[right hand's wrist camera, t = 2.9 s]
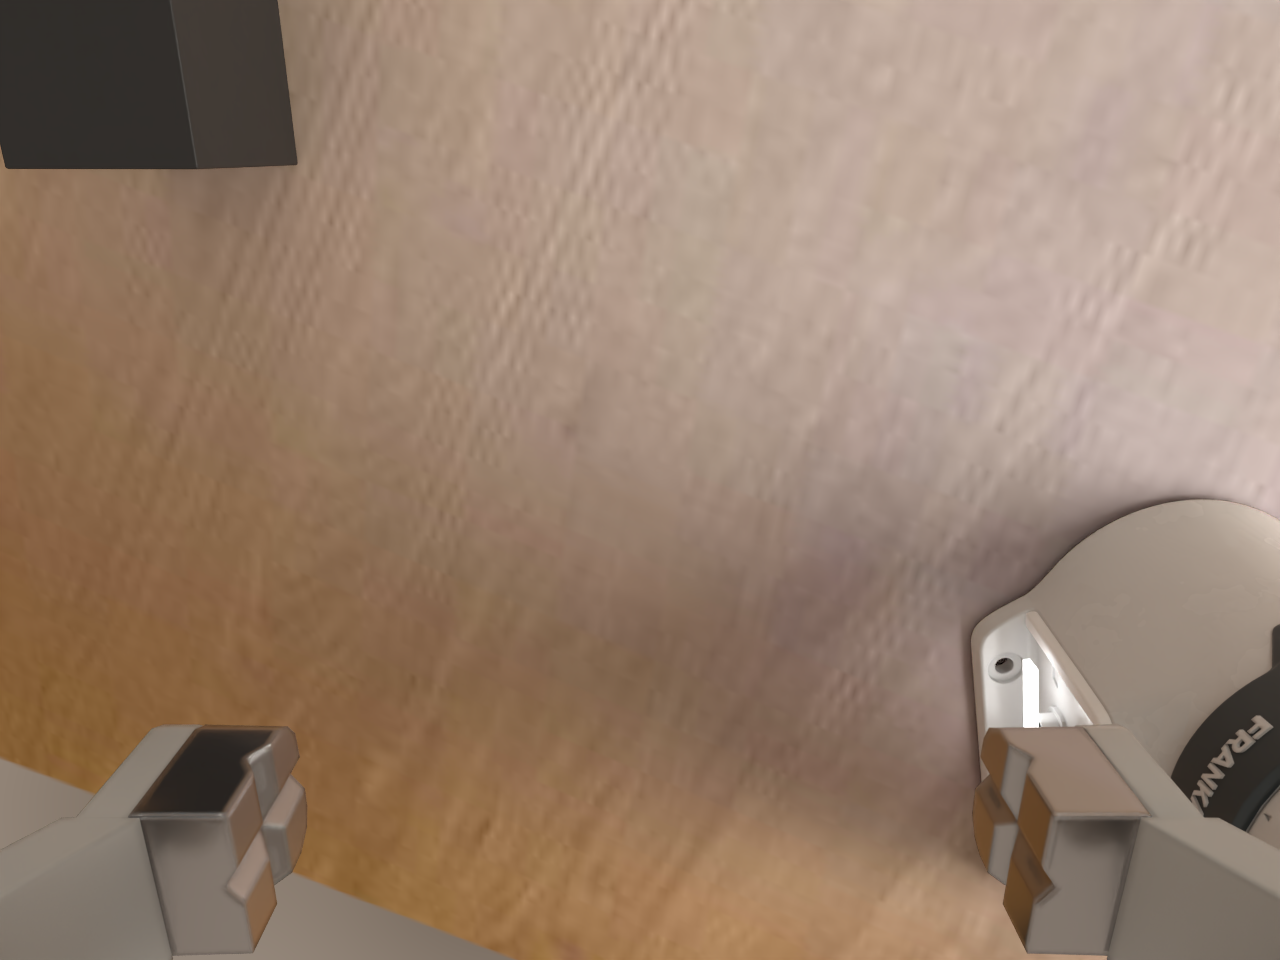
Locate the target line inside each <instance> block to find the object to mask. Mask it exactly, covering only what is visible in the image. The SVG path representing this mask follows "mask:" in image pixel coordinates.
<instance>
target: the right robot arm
mask: <svg viewBox="0 0 1280 960" xmlns="http://www.w3.org/2000/svg"><path fill="white" fill-rule="evenodd" d="M971 653H972V666H973V679H974V692H975V705H976V718H977V731H978V744H979V758H980V771H981V783H980V784H979V785H978V786H977V787H976V788H975V795H974V803H973V812H972V814H973V825H974V836H975V840H976V844H977V847H978V851H979V854H980V857H981V859H982V861H983V863H984V865H985V867H986V870H987V872H988V873H989V874H991V875H992V876H993V877H995V878H996V879H997V880H999V881H1000V882H1001V883H1003V884H1004V885H1006V888H1005V894H1004V900H1003V905H1004V907H1005V909H1006V911H1007V913H1008V915H1009V917H1010V919H1011V921H1012V923H1013V925H1014V927H1015V929H1016V932H1017V934H1018V936H1019V938H1020V940H1021V942H1022V944H1023V946H1024V948H1025V950H1026V952H1027V953H1034V954H1069V955H1104V956H1108V957H1107V960H1280V521H1279V520H1278V519H1276V518H1275V517H1273V516H1271V515H1269V514H1267V513H1265V512H1263V511H1261V510H1258V509H1256V508H1253V507H1250V506H1247V505H1243V504H1239V503H1235V502H1229V501H1223V500H1211V499H1194V500H1182V501H1175V502H1169V503H1164V504H1159V505H1155V506H1152V507H1148V508H1145V509H1142V510H1139V511H1136V512H1133V513H1131V514H1128V515H1126V516H1124V517H1122V518H1119V519H1117V520H1115V521H1113V522H1111V523H1109V524H1108V525H1106V526H1104V527H1102V528H1101V529H1099V530H1097V531H1096V532H1094V533H1093V534H1091V535H1090V536H1088V537H1087V538H1085V539H1084V540H1083V541H1082V542H1080V543H1079V544H1078V545H1076V546H1075V547H1074V548H1073V549H1072V550H1071V551H1069V552H1068V553H1067V554H1066V555H1065V556H1064V557H1063V558H1062V559H1061V560H1060V561H1059V562H1058V563H1057V564H1056V565H1055V566H1054V567H1053V569H1052V570H1051V571H1050V572H1049V573H1048V574H1047V575H1046V576H1045V577H1044V578H1043V579H1042V580H1041V582H1040V583H1039V584H1037V585H1036V586H1035V587H1034V588H1033V589H1032V590H1031V591H1030V592H1028V593H1027V594H1026V595H1024V596H1022V597H1020V598H1018V599H1016V600H1014V601H1012V602H1010V603H1008V604H1007V605H1005V606H1003V607H1001V608H999V609H997V610H996V611H994V612H992V613H991V614H989V615H988V616H986V617H985V618H984V619H983V620H981V621H980V622H979V623H978V624H977V625H976V627H975V628H974V630H973V632H972V636H971ZM1002 658H1007V660H1006V662H1005V663H1003V664H1001V665H995V664H996V662H997V661H998V660H1000V659H1002ZM299 757H300V756H299V751H298V746H297V741H296V736H295V733H294V732H293V731H292V730H291V729H290V728H289V727H288V726H242V725H204V726H202V725H161V726H158V727H155V728H152V729H151V730H150V731H149V732H148V733H147V735H146V736H145V737H144V738H143V739H142V740H141V742H140V743H139V744H138V745H137V746H136V748H135V749H134V750H133V751H132V752H131V753H130V755H129V756H128V757H127V758H126V759H125V760H124V762H123V763H122V764H121V765H120V766H119V767H118V769H117V770H116V771H115V772H114V773H113V774H112V776H111V777H110V778H109V779H108V780H107V781H106V783H105V784H104V785H103V786H102V787H101V788H100V790H99V791H98V792H97V793H96V794H95V795H94V797H93V798H92V799H91V800H90V801H89V803H88V804H87V805H86V806H85V807H84V808H83V810H82V811H81V812H80V813H79V814H78V815H77V817H76V818H60V819H58V820H56V821H54V822H52V823H51V824H49V825H47V826H45V827H43V828H41V829H39V830H37V831H35V832H33V833H31V834H30V835H28V836H26V837H24V838H22V839H20V840H18V841H16V842H14V843H12V844H10V845H9V846H7V847H5V848H3V849H1V850H0V960H173V957H172V956H175V955H210V954H244V953H253V952H254V950H255V948H256V946H257V944H258V942H259V940H260V938H261V936H262V934H263V932H264V930H265V927H266V925H267V923H268V921H269V919H270V917H271V915H272V913H273V911H274V909H275V907H276V905H277V900H276V894H275V889H274V885H276V884H277V883H278V882H280V881H281V880H283V879H284V878H285V877H287V876H288V875H289V874H291V873H292V872H293V870H294V867H295V865H296V863H297V861H298V859H299V856H300V854H301V851H302V847H303V842H304V838H305V833H306V829H307V801H306V794H305V788H304V787H303V786H302V785H301V784H300V783H299V782H298V781H297V780H296V779H295V778H294V777H293V776H292V775H291V772H292V770H293V768H294V766H295V765H296V763H297V761H298V759H299Z"/></svg>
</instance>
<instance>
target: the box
mask: <svg viewBox="0 0 1280 960" xmlns="http://www.w3.org/2000/svg"><path fill="white" fill-rule="evenodd" d="M0 145H1V150H2V154H3V158H4V163H5V167H6V168H8V169H211V168H235V167H259V166H284V165H297V156H296V148H295V140H294V132H293V124H292V116H291V107H290V99H289V91H288V83H287V75H286V67H285V59H284V51H283V43H282V34H281V26H280V18H279V10H278V2H277V0H0Z"/></svg>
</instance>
